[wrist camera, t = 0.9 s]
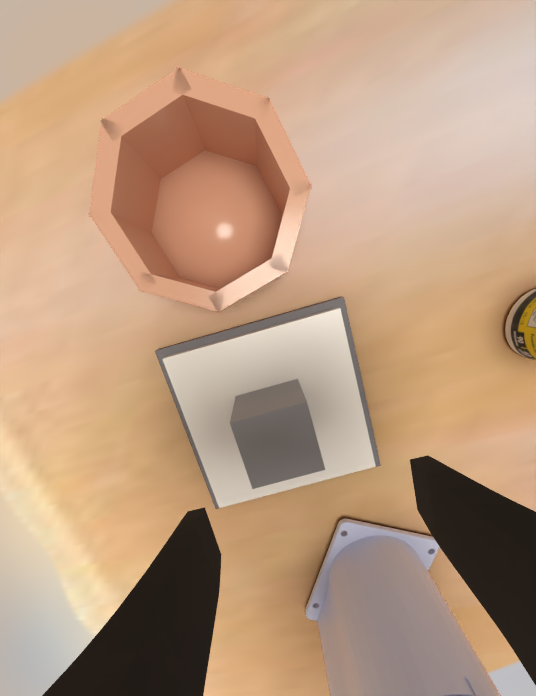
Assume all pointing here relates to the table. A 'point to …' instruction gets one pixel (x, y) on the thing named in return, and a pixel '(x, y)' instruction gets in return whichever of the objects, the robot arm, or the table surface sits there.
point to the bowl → (198, 190)
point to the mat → (257, 326)
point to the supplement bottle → (523, 326)
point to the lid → (273, 407)
